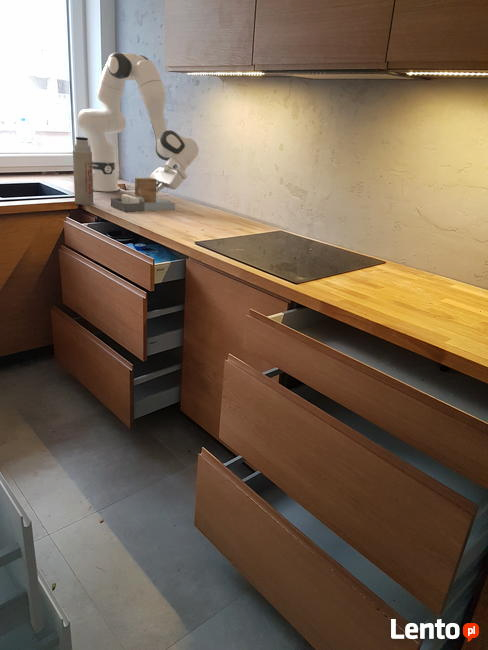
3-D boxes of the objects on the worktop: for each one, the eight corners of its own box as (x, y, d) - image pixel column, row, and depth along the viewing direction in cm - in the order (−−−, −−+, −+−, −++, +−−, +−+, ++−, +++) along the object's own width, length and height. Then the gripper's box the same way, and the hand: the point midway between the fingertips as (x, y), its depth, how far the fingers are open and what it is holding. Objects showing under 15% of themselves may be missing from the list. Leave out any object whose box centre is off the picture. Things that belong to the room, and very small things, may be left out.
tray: (110, 206, 222) (110, 198, 220) (129, 205, 228) (129, 197, 226) (124, 212, 213) (124, 204, 211) (144, 211, 218) (144, 203, 217)
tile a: (126, 205, 225) (121, 205, 223) (126, 194, 223) (121, 194, 221) (131, 207, 222) (126, 207, 220) (132, 196, 220) (126, 196, 218)
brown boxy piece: (129, 199, 225) (129, 176, 221) (146, 198, 231) (146, 176, 227) (142, 204, 217) (142, 180, 213) (160, 203, 223) (160, 180, 219)
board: (130, 205, 227) (130, 199, 226) (160, 204, 237) (161, 198, 236) (143, 210, 219) (144, 204, 218) (174, 209, 229) (174, 202, 228)
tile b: (133, 207, 221) (128, 207, 220) (133, 196, 219) (128, 196, 218) (139, 209, 218) (134, 210, 216) (139, 198, 216) (134, 198, 215)
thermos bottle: (97, 203, 224) (95, 138, 213) (82, 205, 218) (79, 137, 207) (86, 200, 228) (84, 136, 217) (71, 202, 222) (68, 136, 211)
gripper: (157, 161, 233) (138, 182, 230) (181, 167, 219) (162, 190, 217) (165, 171, 237) (147, 192, 235) (189, 177, 223) (170, 200, 221)
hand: (154, 191), depth 226 cm, fingers closed
